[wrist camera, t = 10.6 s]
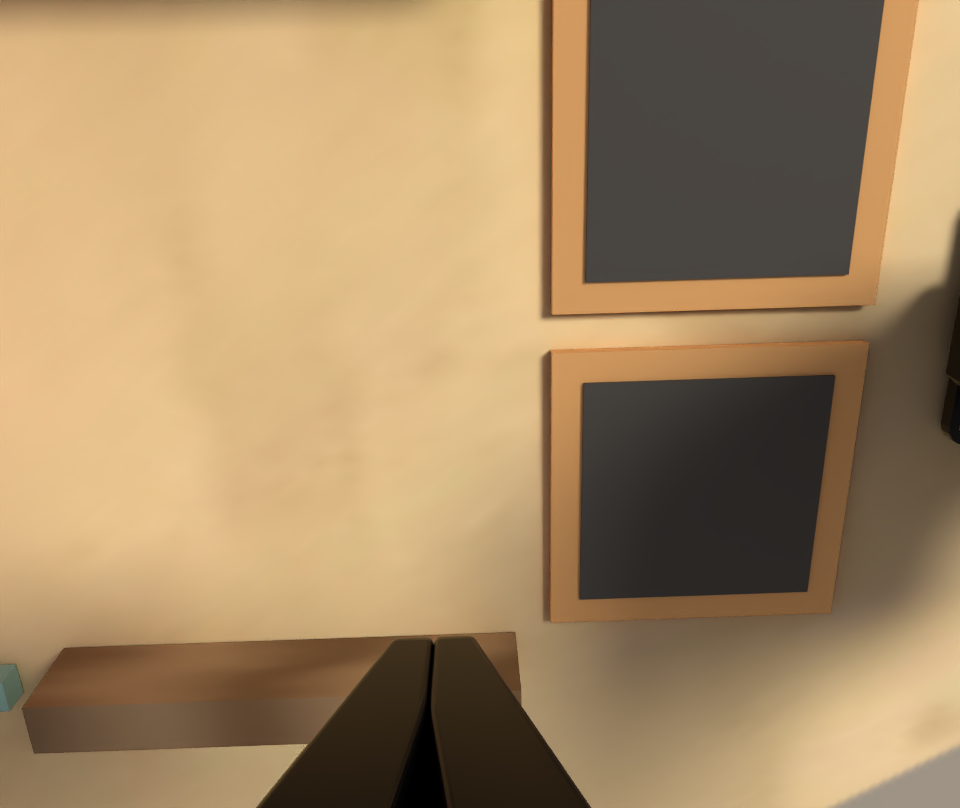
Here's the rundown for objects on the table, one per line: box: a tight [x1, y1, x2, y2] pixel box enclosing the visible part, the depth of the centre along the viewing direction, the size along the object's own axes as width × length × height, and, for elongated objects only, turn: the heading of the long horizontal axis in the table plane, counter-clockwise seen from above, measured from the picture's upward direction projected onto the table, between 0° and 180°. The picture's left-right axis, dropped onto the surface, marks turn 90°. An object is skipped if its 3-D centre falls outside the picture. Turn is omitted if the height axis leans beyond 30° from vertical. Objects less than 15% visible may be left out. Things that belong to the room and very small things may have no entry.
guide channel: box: [22, 632, 521, 754], centre depth 20 cm, size 13×21×2 cm, turn 2°
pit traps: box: [550, 0, 919, 623], centre depth 21 cm, size 8×17×1 cm, turn 2°
